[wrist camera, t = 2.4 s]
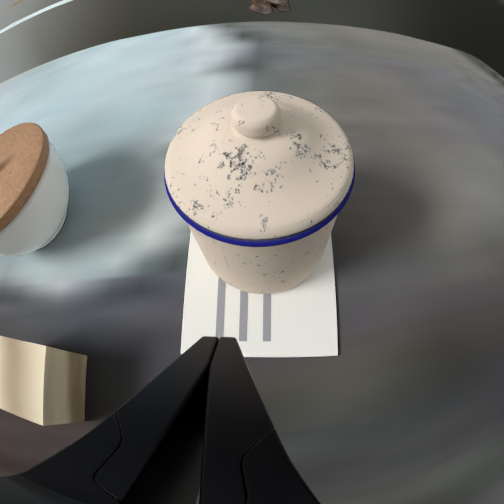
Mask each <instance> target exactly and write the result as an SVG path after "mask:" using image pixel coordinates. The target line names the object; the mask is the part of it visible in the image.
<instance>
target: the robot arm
mask: <svg viewBox="0 0 504 504" xmlns="http://www.w3.org/2000/svg"><path fill="white" fill-rule="evenodd" d="M115 413H116V414H115ZM115 413H112V414H111V415H109V416H108V417H107V418H106V419H104V420H103V421H102V422H101V423H99V424H98V425H97V426H96V427H94V428H93V429H92V430H90V431H89V432H88V433H86V434H85V435H83V436H82V437H80V438H79V439H77V440H76V441H74V442H73V443H71V444H70V445H68V446H67V447H65V448H63V449H62V450H60V451H59V452H57V453H55V454H54V455H52V456H50V457H49V458H47V459H45V460H44V461H42V462H40V463H39V464H37V465H35V466H34V467H32V468H30V469H28V470H26V471H24V472H21V473H19V474H15V475H11V476H0V504H196V500H197V496H198V492H199V488H200V500H199V504H320V502H319V501H318V500H317V498H316V497H315V496H314V494H313V493H312V491H311V490H310V489H309V487H308V486H307V485H306V483H305V482H304V480H303V479H302V478H301V476H300V474H299V473H298V471H297V470H296V468H295V467H294V465H293V463H292V462H291V460H290V458H289V457H288V455H287V453H286V451H285V449H284V447H283V445H282V443H281V441H280V439H279V437H278V434H277V432H276V430H275V429H274V426H273V424H272V421H271V419H270V417H269V415H268V412H267V410H266V408H265V406H264V403H263V401H262V399H261V396H260V394H259V392H258V389H257V387H256V385H255V382H254V380H253V378H252V375H251V373H250V370H249V368H248V366H247V363H246V361H245V358H244V356H243V354H242V351H241V349H240V346H239V344H238V341H237V339H236V338H235V337H220V338H218V337H214V336H203V337H201V338H200V339H199V340H198V341H197V342H196V343H194V344H193V345H192V346H191V347H190V348H189V349H188V350H186V351H185V352H184V353H183V354H182V355H181V356H179V357H178V358H177V359H176V360H175V361H174V362H173V363H171V364H170V365H169V366H168V367H167V368H166V369H164V370H163V371H162V372H161V373H160V374H159V375H157V376H156V377H155V378H154V379H153V380H151V381H150V382H149V383H148V384H147V385H146V386H144V387H143V388H142V389H141V390H140V391H138V392H137V393H136V394H135V395H134V396H132V397H131V398H130V399H129V400H128V401H126V402H125V403H124V404H123V405H122V406H120V407H119V408H118V409H117V410H116V411H115Z"/></svg>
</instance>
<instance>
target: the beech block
mask: <svg viewBox="0 0 504 504" xmlns="http://www.w3.org/2000/svg"><path fill="white" fill-rule="evenodd" d="M86 365H87V355H82V354H77V353H73V352H69V351H64V350H60V349H56V348H52V347H48V346H44V345H39V344H34V343H29V342H25V341H20V340H16V339H11V338H7V337H3V336H0V408H1V409H3V410H5V411H8V412H10V413H12V414H15V415H17V416H19V417H22V418H24V419H27V420H29V421H32V422H35V423H37V424H40V425H43V426H46V425H57V424H67V423H75V422H84V421H85V383H86Z"/></svg>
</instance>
